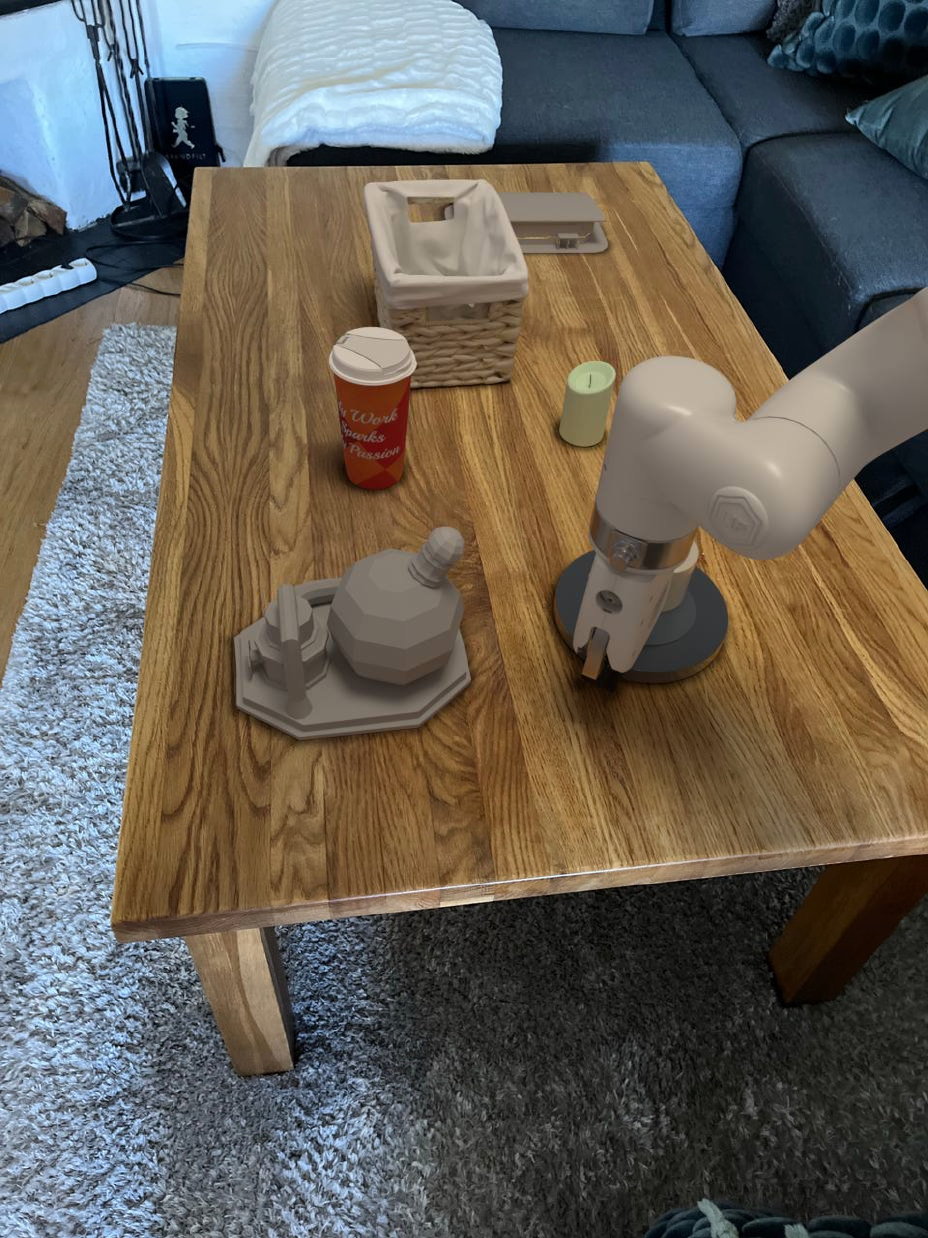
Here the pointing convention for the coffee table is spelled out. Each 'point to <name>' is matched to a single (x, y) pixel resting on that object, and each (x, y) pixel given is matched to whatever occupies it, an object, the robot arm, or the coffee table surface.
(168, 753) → the coffee table surface
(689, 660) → the plate
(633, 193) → the coffee table surface
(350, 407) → the coffee cup
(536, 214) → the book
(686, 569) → the short beige cylinder
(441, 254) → the basket
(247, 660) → the grey faceted model
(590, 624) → the robot arm
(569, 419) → the candle
